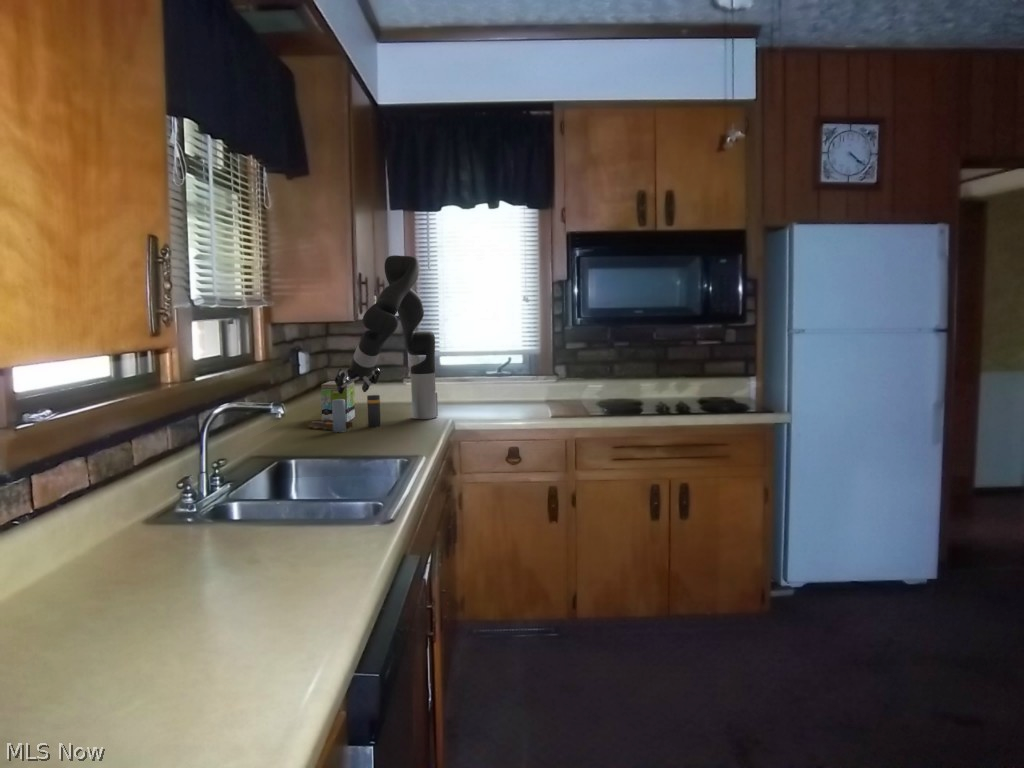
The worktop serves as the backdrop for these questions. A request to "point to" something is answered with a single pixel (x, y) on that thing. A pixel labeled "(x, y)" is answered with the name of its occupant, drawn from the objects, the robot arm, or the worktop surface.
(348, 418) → the tea box
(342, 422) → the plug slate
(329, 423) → the rack
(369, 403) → the dark grey cylinder
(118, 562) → the worktop surface
